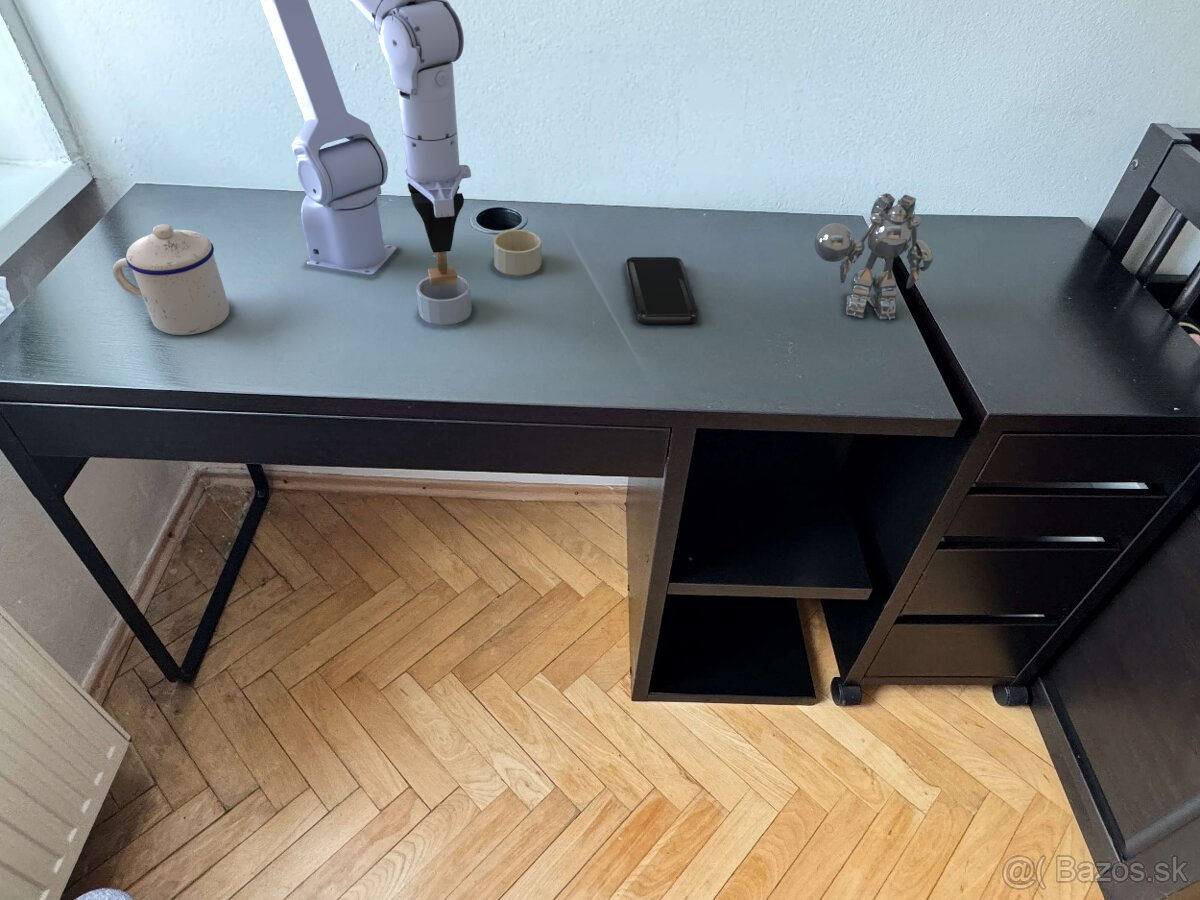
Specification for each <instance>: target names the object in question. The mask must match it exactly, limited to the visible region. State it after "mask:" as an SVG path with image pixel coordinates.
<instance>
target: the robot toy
mask: <svg viewBox="0 0 1200 900" xmlns="http://www.w3.org/2000/svg"><path fill="white" fill-rule="evenodd" d="M916 201H917V198H916V197H914V196H912V195H908V194H903V195H902V197H901V198H898V199H897V202H896V198H895V197H894V196H892V194H890V193H888V192H886V193H883V194H880V195H879V196H878V197H877V199H875V200H874V202H873V204H872V205H873V206H872V208H871V211H870V217H869V220H870V223H869V225H868V226H867V228H866V230H865V231H864V232H863V234H862V235H861V237H860V239H856V240H855V239H854V235H853V232H852V230H851V229H850V228H849V227H848V226H846V225H844V224H842V223H838V222H836V223H835V222H833V223H829V224H826V225H825V226H823V227H822V228H821V229H819V230H818V232H817V234H816V236H815V239H814V251H815V253H816V254H817V255H818V256H819V258H820V259H822V260H823V261H825V262H829V263H837V262H840V261H841V263H840V265H839V280H840V281H839V282H840V283H841V284H845V282H846V278H847V275H848V273H849V272H850V271H851V269H852V266H853V264H855V263H856V262H857V260H858V259H859V258H860V257H861V256H862V255H863V253H864V250H865V246H866V245H865V241H866V239H867V247H868V249H869V250H870V254H869V256H868V258H867V260H866V263H865V265H864V268H861V269H859V270H858V271H856V272H855V273H854V274H853V277H852V280H851V282H850V286H851V290H852V293H850V294H849V295H847V296H846V306H845V314H846V315H847V316H850V317H851V316H852V317H856V318H859V319H864V318H865V309H866V306H867V302H868V303H869V305H870V306H871V307H873V310H874V313H875V314H876V316H877V317H878V320H894V319H896V316H895V315H896V310H897V305H896V298H897V297H896V296H897V280H896V277H895V274H894V272H893V264H894V259H895V258H898V257H900V256H901V255H902V254H903V253H906V252H907V254H906V259H907V261H908V264H909V271H910V273H909V276H908V278H907V280H906V289H911V288H912V287H913V286H914V284H915V283H916V281H919V280H920V273H921V272H925V271H927V270H928V269H929V268H930V266H931V264H932V263H933V252H932V250H931V248H930V246H929V245H928V244H927V243H926V242H925V241H923V240H922V239H918V228H919V227H920V226H921V223H922V218H921V217H920V216H918V215H916V211H915V210H916V207H917V205H918V203H916ZM895 202H896V204H895ZM910 245H911V246H910ZM878 259H882V260H885V261H884V266H883V270H882V271H879V272H878V273H877V274H875V275H874V276H873V272H872V271H873V268H874V266H875V263H876V262H877V260H878ZM842 260H843V261H842ZM872 288H873V291H874V294H873V295H871V296H869V295H870V292H871V290H872Z"/></svg>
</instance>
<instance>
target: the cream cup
mask: <svg viewBox="0 0 1200 900" xmlns="http://www.w3.org/2000/svg"><path fill="white" fill-rule="evenodd" d="M492 247H493V248H492V249H493V250H492V251H493V265H494V267H495V269H497V270H498V271H499V272H501V273H502V274H506V275H510V276H527V275H530V274H534V273H536V272H537V271H539V269H540V268H541V266H542V265H543V262H542V261H543V260H542V259H543V256H542V255H543V254H542V253H543V252H542V251H543V248H542V247H543V244H542V238H541V237H540V235H538V234H537V233H535V232H533V231H530V230H525V229H509V230H504V231H501V232H499V233H498V234H496V235H495V236H494V237H493V239H492Z"/></svg>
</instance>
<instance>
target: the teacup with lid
mask: <svg viewBox="0 0 1200 900" xmlns="http://www.w3.org/2000/svg"><path fill="white" fill-rule="evenodd" d="M214 252H215V248H214V244H213V243H212V242H211V240H210V239H209V238H208V237H207V236H206V235H204V234H203V233H200V232H197V231H194V230H188V229H174V228H173V227H172V226H171V225H169V224H167V223H160V224H157V225H155V226H153V228H152V233H150V234H147V235H145V236H143V237H141V238H138V239H137V240H136V241H134V242H133V243H132V244H131V245H130V246H129V247H128V249H127V251H126V257H122V258H120V259H118V260H117V261H116V262H115V263H114V264H113V267H112V275H113V277H114V279H115V281H116V282H117V283H118V285H119V286H120V287H121V288H122V290H124V291H125V292H126V293H127V294H129V295H131V296H133V297H135V298H139V299H143V301H144V304H145V306H146V309H147V312H148V315H149V317H150V320H151V323H152V324H153V327H155V328H156V329H157V330H159V331H161V332H162V333H165V334H168V335H174V336H190V335H197V334H201V333H204V332H207V331H211V330H212V329H214V328H217V327H218V326H219V325H221V324H222V323H223V322H224V321H225V320H226V319H227V318H228V316H229V314H230V311H231V310H230V304H229V301H228V298H227V294H226V291H225V288H224V284H223V281H222V277H221V273H220V271H219V268H218V264H217V262H216V258H215V255H214ZM124 267H127V268H130V269H131V270H132V273H133V275H134V278H135V280H136V284H137V285H138V287H137V286H135V285H134V284H133V283H132V282H131V281H129V279H128V278H127V277H126V275H125V273H124V270H123V268H124Z"/></svg>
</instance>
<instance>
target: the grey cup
mask: <svg viewBox="0 0 1200 900" xmlns="http://www.w3.org/2000/svg"><path fill="white" fill-rule="evenodd" d="M457 276H458V283H455V284H446V285H436V286H431V283H430V279H429V275H428V276H426V277H424V278H422V279H421V280H420V281H419V282H418V283H417V284H416V299H417V306H418V307H417V308H418V314H419V316H420V318H422V320H423V321H425V322H427V323H429V324H432V325H437V326H450V325H457V324H458V323H461V322H463V321H465V320H467V319H468V318H469V317H470V316H471V314H472V312H473V309H472V297H471V296H472V295H471V284H470V282H469V281H468V280H467V279H466V278H465V277H462V276H460V275H458V274H457Z"/></svg>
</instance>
